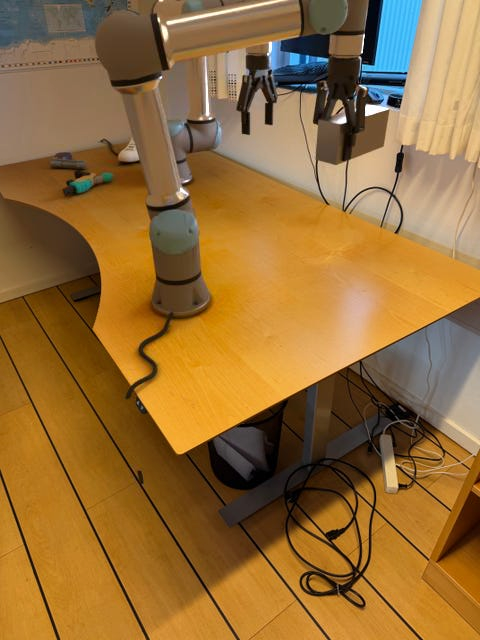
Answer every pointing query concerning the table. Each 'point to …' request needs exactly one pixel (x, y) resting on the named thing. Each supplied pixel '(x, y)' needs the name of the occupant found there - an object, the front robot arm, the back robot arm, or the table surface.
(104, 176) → the toy gun
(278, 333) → the table surface
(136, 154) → the sneaker
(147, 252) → the table surface
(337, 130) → the box
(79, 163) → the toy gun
